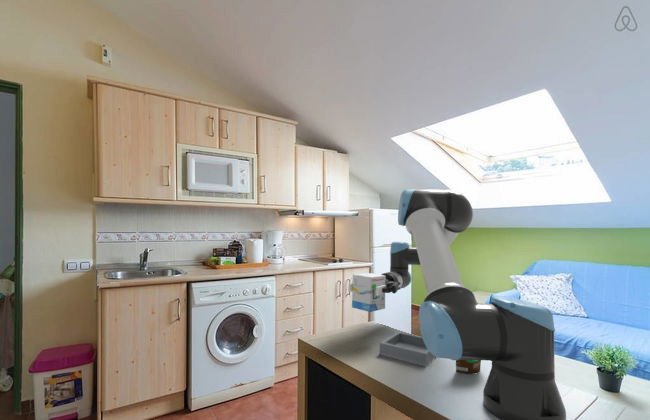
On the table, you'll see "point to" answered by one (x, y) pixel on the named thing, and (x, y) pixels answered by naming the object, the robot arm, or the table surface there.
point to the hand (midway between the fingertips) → (362, 289)
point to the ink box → (367, 292)
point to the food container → (468, 366)
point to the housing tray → (406, 349)
